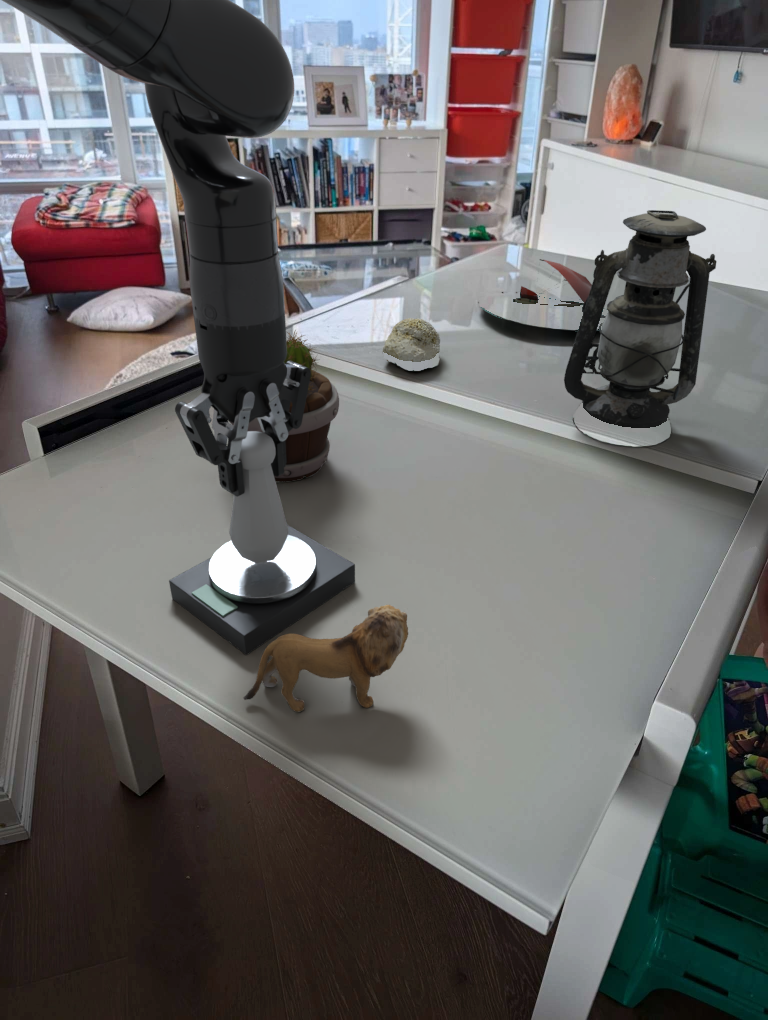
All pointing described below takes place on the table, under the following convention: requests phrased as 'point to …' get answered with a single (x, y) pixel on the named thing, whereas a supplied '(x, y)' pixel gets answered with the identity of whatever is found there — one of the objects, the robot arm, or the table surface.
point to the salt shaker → (258, 503)
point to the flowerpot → (307, 419)
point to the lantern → (642, 323)
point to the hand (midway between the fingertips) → (254, 481)
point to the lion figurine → (336, 655)
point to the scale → (264, 620)
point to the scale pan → (263, 573)
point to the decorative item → (413, 341)
